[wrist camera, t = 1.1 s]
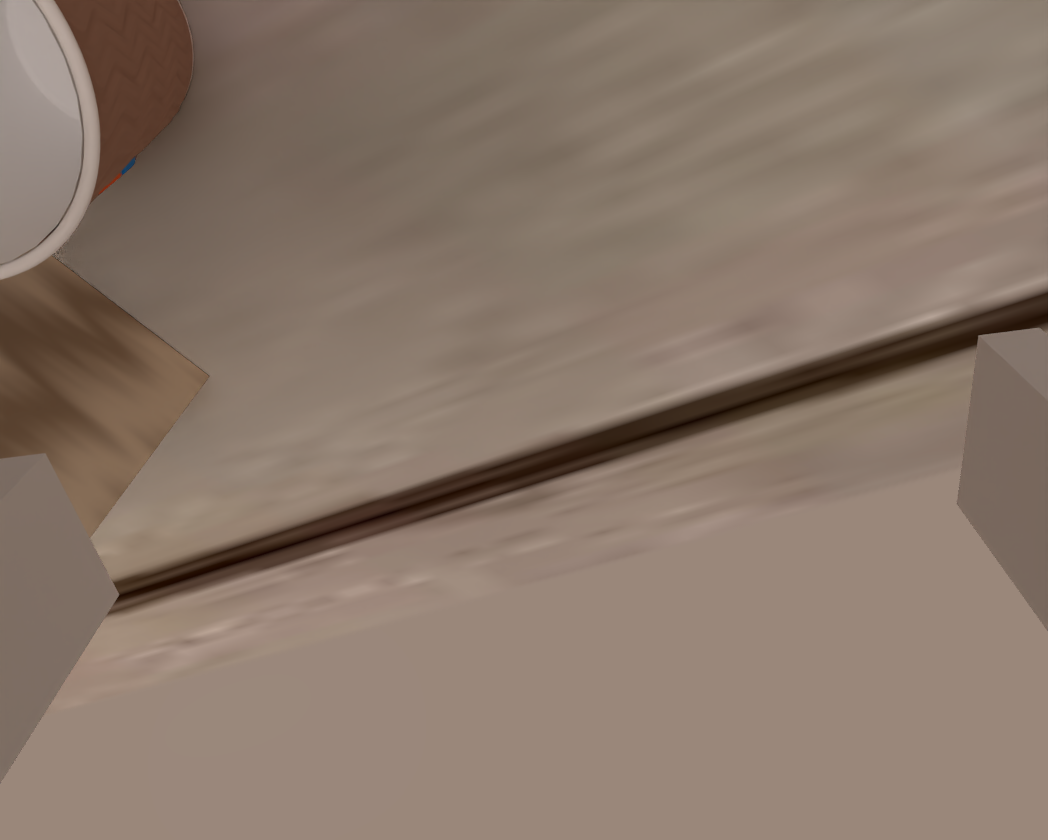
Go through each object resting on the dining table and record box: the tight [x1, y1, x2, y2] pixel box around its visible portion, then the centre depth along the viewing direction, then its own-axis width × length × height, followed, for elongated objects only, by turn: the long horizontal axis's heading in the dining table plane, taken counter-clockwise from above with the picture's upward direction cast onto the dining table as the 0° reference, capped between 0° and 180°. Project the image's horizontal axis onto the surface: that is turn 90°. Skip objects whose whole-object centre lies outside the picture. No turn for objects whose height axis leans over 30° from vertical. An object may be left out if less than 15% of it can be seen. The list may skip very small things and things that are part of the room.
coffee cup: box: [0, 0, 194, 280], centre depth 26 cm, size 10×10×12 cm
